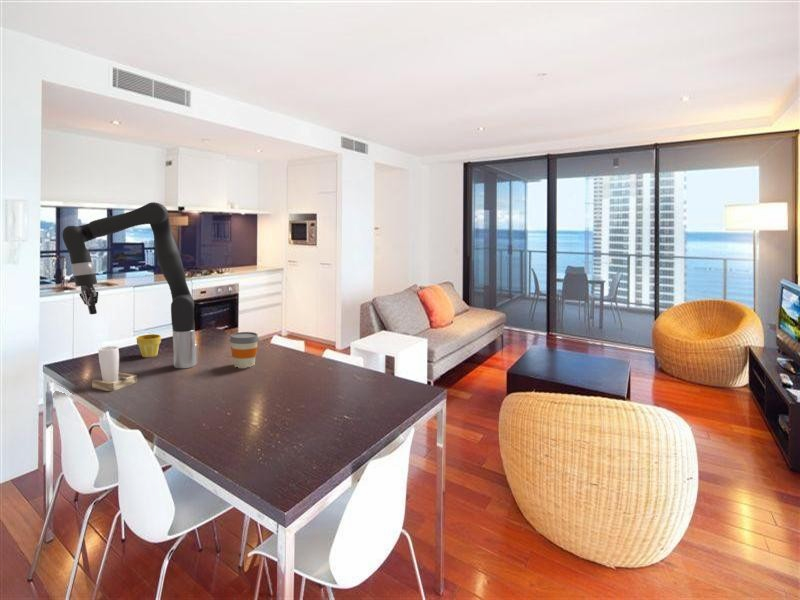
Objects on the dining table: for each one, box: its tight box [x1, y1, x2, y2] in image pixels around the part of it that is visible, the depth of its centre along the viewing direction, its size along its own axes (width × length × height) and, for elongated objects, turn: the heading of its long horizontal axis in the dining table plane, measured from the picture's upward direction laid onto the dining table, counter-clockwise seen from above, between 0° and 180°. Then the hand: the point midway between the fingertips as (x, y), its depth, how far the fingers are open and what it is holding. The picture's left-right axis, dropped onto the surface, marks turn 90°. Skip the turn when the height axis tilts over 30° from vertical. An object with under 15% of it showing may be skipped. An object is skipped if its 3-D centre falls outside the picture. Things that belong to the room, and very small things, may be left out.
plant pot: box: [136, 333, 162, 358], centre depth 214 cm, size 10×10×10 cm
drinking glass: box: [98, 345, 120, 383], centre depth 174 cm, size 7×7×15 cm
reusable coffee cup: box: [229, 331, 259, 369], centre depth 205 cm, size 12×12×15 cm
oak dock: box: [91, 371, 138, 392], centre depth 174 cm, size 11×10×4 cm
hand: (93, 314), depth 184 cm, fingers closed
